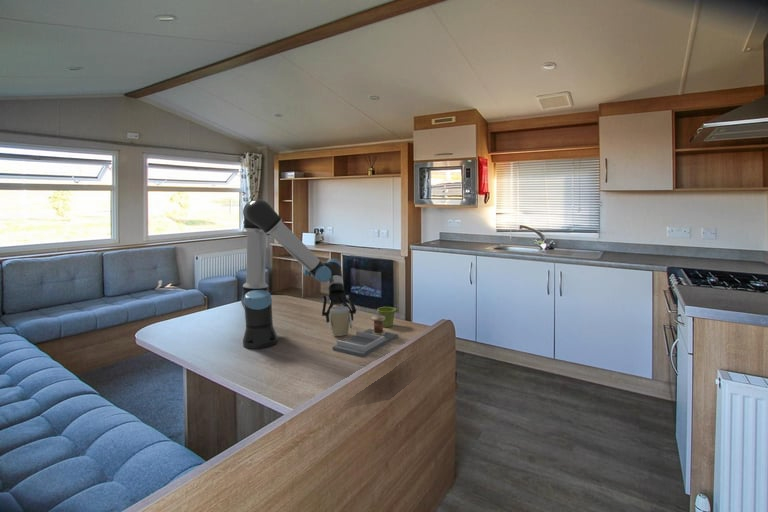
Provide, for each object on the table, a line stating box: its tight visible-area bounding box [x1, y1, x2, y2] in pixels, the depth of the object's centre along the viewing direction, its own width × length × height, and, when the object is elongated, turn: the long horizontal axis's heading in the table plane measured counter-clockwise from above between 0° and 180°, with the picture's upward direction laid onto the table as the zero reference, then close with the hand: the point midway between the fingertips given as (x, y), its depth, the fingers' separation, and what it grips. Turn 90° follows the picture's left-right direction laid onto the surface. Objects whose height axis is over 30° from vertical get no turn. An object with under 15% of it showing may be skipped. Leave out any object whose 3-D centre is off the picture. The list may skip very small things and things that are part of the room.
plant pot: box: [376, 306, 397, 328], centre depth 209 cm, size 9×9×9 cm
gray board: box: [332, 328, 399, 358], centre depth 184 cm, size 28×16×4 cm, turn 147°
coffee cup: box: [330, 305, 350, 336], centre depth 195 cm, size 9×9×12 cm
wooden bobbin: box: [371, 314, 386, 336], centre depth 192 cm, size 6×6×8 cm
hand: (340, 327), depth 192 cm, fingers closed on coffee cup, 9 cm apart
